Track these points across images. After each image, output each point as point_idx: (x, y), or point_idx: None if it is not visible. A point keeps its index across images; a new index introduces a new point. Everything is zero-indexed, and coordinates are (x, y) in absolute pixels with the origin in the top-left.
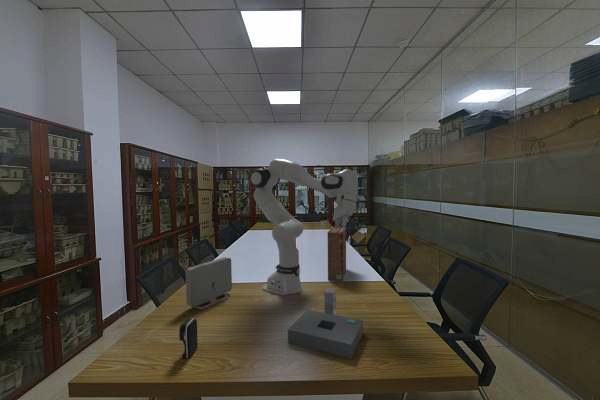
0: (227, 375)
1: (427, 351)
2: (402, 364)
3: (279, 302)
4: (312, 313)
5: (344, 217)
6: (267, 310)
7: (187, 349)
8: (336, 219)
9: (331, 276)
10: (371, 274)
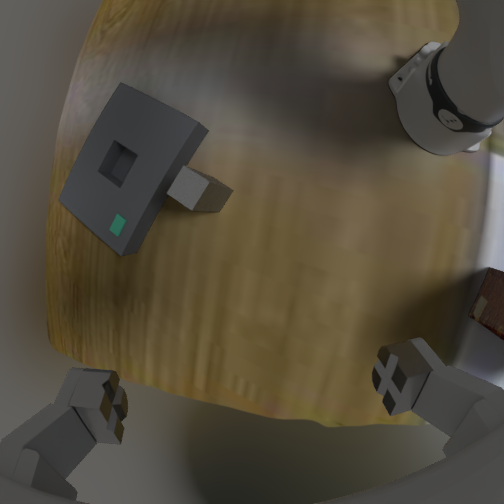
0: (93, 32)
1: (85, 334)
2: (61, 276)
3: (337, 68)
4: (173, 134)
5: (6, 453)
6: (287, 39)
7: None
8: (491, 436)
9: (491, 281)
10: None
